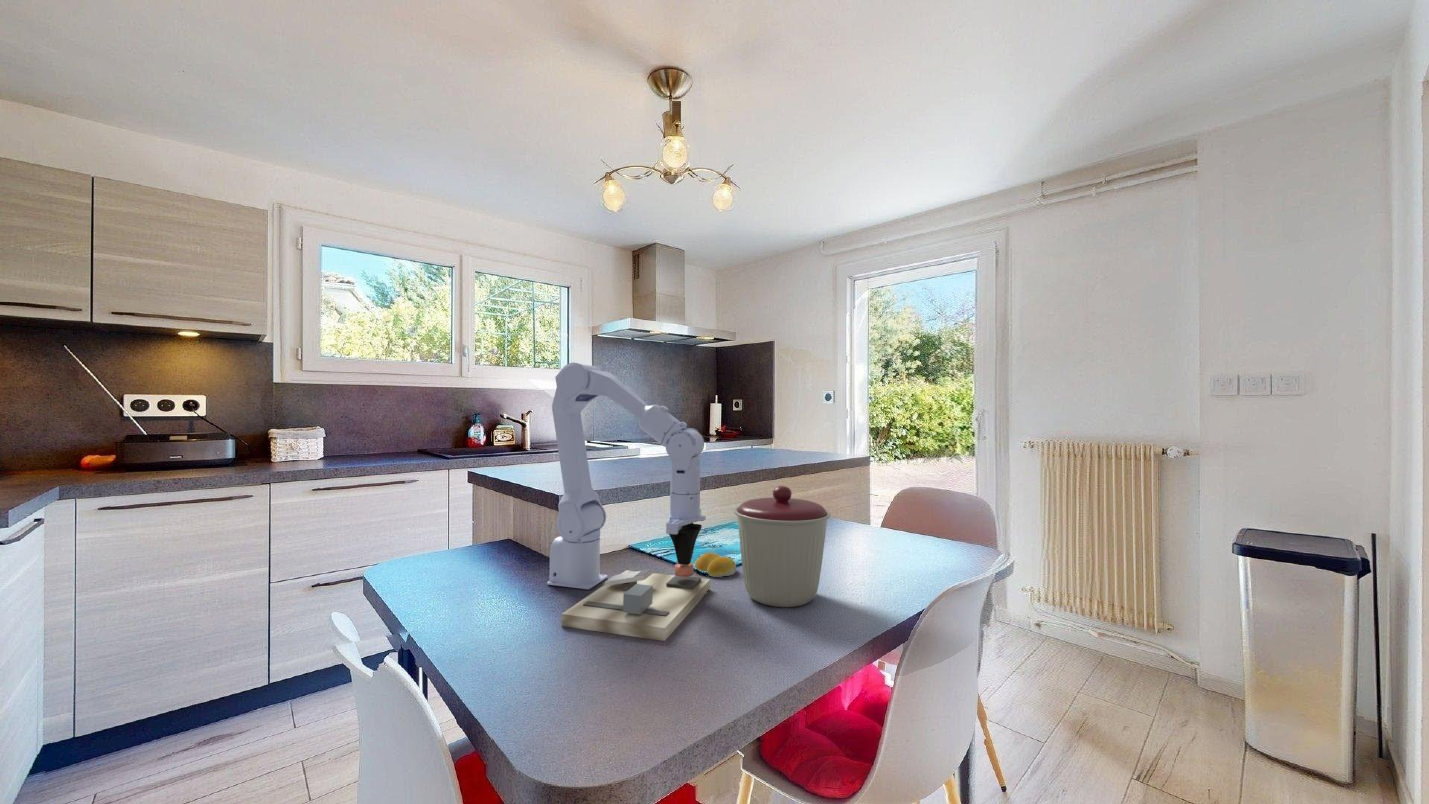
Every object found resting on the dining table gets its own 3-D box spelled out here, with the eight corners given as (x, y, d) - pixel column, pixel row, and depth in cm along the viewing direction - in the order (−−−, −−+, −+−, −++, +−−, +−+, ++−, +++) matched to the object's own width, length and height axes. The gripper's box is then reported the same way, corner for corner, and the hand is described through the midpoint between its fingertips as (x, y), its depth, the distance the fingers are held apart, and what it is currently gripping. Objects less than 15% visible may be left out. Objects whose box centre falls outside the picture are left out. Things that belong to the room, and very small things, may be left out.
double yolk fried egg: (721, 581, 111) (721, 562, 111) (688, 572, 116) (688, 554, 116) (744, 572, 117) (744, 554, 117) (712, 564, 123) (712, 546, 123)
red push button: (671, 575, 101) (671, 567, 101) (678, 570, 105) (678, 561, 105) (689, 577, 100) (690, 569, 100) (695, 571, 104) (696, 563, 104)
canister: (824, 584, 110) (825, 480, 110) (835, 619, 92) (836, 495, 92) (735, 580, 111) (737, 478, 111) (729, 614, 93) (731, 492, 93)
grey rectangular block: (623, 612, 87) (623, 593, 87) (636, 601, 92) (636, 583, 92) (640, 614, 86) (640, 595, 86) (652, 603, 91) (652, 585, 91)
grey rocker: (605, 586, 100) (604, 581, 100) (615, 579, 103) (614, 574, 103) (644, 579, 97) (643, 575, 97) (653, 573, 101) (652, 568, 101)
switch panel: (561, 626, 87) (561, 606, 87) (625, 579, 110) (626, 564, 110) (664, 641, 82) (665, 620, 82) (709, 589, 105) (710, 573, 105)
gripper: (692, 500, 95) (692, 577, 95) (715, 487, 109) (714, 555, 109) (655, 497, 97) (654, 573, 97) (682, 486, 111) (682, 552, 111)
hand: (684, 563), depth 103 cm, fingers closed
